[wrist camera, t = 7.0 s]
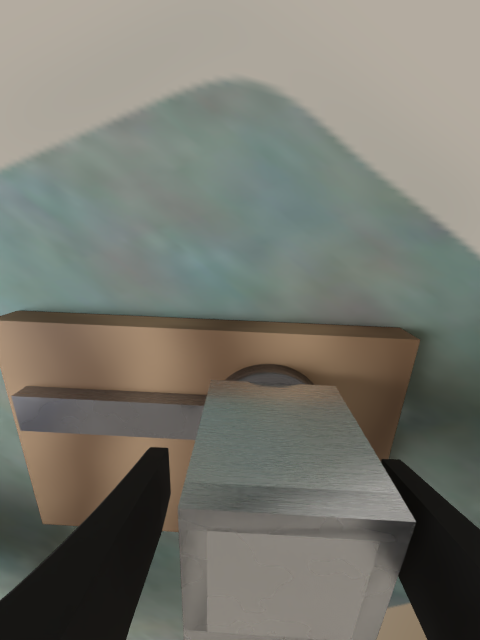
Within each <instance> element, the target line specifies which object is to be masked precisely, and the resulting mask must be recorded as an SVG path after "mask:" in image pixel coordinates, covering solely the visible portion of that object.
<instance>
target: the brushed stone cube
mask: <svg viewBox="0 0 480 640" xmlns="http://www.w3.org/2000/svg"><path fill="white" fill-rule="evenodd" d="M415 525H416V521H415V519H414V517H413V516H412V514H411V512H410V511H409V509H408V507H407V505H406V504H405V502H404V500H403V499H402V497H401V495H400V494H399V492H398V490H397V489H396V487H395V485H394V484H393V482H392V480H391V479H390V477H389V475H388V474H387V472H386V470H385V469H384V467H383V465H382V463H381V462H380V460H379V458H378V457H377V455H376V453H375V452H374V450H373V448H372V447H371V445H370V443H369V442H368V440H367V438H366V437H365V435H364V433H363V432H362V430H361V428H360V426H359V425H358V423H357V421H356V420H355V418H354V416H353V415H352V413H351V411H350V410H349V408H348V406H347V405H346V403H345V401H344V400H343V398H342V396H341V395H340V393H339V391H338V390H337V388H336V386H327V385H306V384H286V383H266V382H245V381H225V380H211V382H210V386H209V390H208V394H207V398H206V402H205V405H204V409H203V413H202V417H201V421H200V425H199V428H198V432H197V436H196V440H195V444H194V448H193V451H192V455H191V459H190V463H189V467H188V470H187V474H186V478H185V482H184V486H183V490H182V493H181V497H180V501H179V505H178V527H179V548H180V569H181V589H182V610H183V631H184V640H376V639H377V636H378V633H379V630H380V627H381V624H382V621H383V618H384V615H385V612H386V610H387V607H388V604H389V601H390V598H391V595H392V592H393V589H394V586H395V583H396V580H397V577H398V574H399V571H400V569H401V566H402V563H403V560H404V557H405V554H406V551H407V548H408V545H409V542H410V539H411V536H412V533H413V530H414V528H415Z"/></svg>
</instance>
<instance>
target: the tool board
mask: <svg viewBox="0 0 480 640" xmlns="http://www.w3.org/2000/svg"><path fill="white" fill-rule="evenodd" d="M419 343H420V339H418V338H416V337H415V336H413V335H411V334H409V333H408V332H406V331H404V330H403V329H401V328H393V327H371V326H349V325H327V324H304V323H282V322H260V321H238V320H215V319H193V318H171V317H149V316H126V315H104V314H82V313H60V312H37V311H15V312H12V313H9V314H6V315H2V316H0V368H1V372H2V375H3V379H4V383H5V386H6V390H7V394H8V397H9V401H10V405H11V409H12V412H13V416H14V420H15V423H16V427H17V431H18V434H19V438H20V442H21V446H22V449H23V453H24V457H25V460H26V464H27V468H28V471H29V475H30V479H31V482H32V486H33V490H34V494H35V497H36V501H37V505H38V508H39V512H40V516H41V519H42V523H43V524H53V525H70V526H80V525H81V524H82V522H83V521H84V520H85V519H86V518H87V517H88V516H89V515H90V514H91V513H92V512H93V511H94V510H95V509H96V508H97V507H98V506H99V505H100V504H101V502H102V501H103V500H104V499H105V498H106V497H107V496H108V495H109V494H110V493H111V491H112V490H113V489H114V488H115V487H116V486H117V485H118V484H119V483H120V481H121V480H122V479H123V478H124V477H125V476H126V475H127V473H128V472H129V471H130V470H131V469H132V468H133V466H134V465H135V464H136V463H137V462H138V460H139V459H140V458H141V457H142V456H143V454H144V453H145V452H146V451H147V450H148V449H149V448H150V447H162V448H168V449H169V467H170V484H171V495H170V500H169V504H168V508H167V513H166V517H165V521H164V525H163V529H162V531H171V532H179V527H178V505H179V501H180V497H181V493H182V490H183V486H184V482H185V478H186V474H187V470H188V467H189V463H190V459H191V455H192V451H193V448H194V444H195V440H185V439H166V438H147V437H128V436H109V435H90V434H71V433H53V432H34V431H20V427H19V423H18V420H17V416H16V412H15V408H14V405H13V401H12V397H11V396H12V395H14V394H15V393H17V392H18V391H20V390H21V389H23V388H24V387H26V386H40V387H60V388H80V389H100V390H120V391H140V392H160V393H180V394H200V395H207V394H208V390H209V386H210V382H211V380H225V379H226V378H227V377H229V376H230V375H232V374H233V373H235V372H237V371H238V370H240V369H243V368H246V367H249V366H252V365H258V364H278V365H283V366H287V367H289V368H292V369H295V370H297V371H298V372H300V373H302V374H303V375H305V376H306V377H307V378H308V379H309V380H311V381H312V383H313V384H314V385H327V386H336V388H337V390H338V391H339V393H340V395H341V396H342V398H343V400H344V401H345V403H346V405H347V406H348V408H349V410H350V411H351V413H352V415H353V416H354V418H355V420H356V421H357V423H358V425H359V426H360V428H361V430H362V432H363V433H364V435H365V437H366V438H367V440H368V442H369V443H370V445H371V447H372V448H373V450H374V452H375V453H376V455H377V457H378V458H379V460H380V462H381V459H389V455H390V451H391V447H392V444H393V440H394V436H395V432H396V429H397V425H398V421H399V417H400V414H401V410H402V406H403V403H404V399H405V395H406V391H407V388H408V384H409V380H410V376H411V373H412V369H413V365H414V361H415V358H416V354H417V350H418V347H419Z"/></svg>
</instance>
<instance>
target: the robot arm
mask: <svg viewBox="0 0 480 640" xmlns="http://www.w3.org/2000/svg"><path fill="white" fill-rule="evenodd" d="M381 463H382V465H383V467H384V469H385V470H386V472H387V474H388V475H389V477H390V479H391V480H392V482H393V484H394V485H395V487H396V489H397V490H398V492H399V494H400V495H401V497H402V499H403V500H404V502H405V504H406V505H407V507H408V509H409V511H410V512H411V514H412V516H413V517H414V519H415V521H416V525H415V528H414V530H413V533H412V536H411V539H410V542H409V545H408V548H407V551H406V554H405V557H404V560H403V563H402V566H401V569H400V571H399V574H398V576H399V579H400V581H401V583H402V585H403V587H404V590H405V592H406V594H407V596H408V598H409V600H410V603H411V605H412V607H413V609H414V611H415V614H416V616H417V618H418V620H419V622H420V624H421V626H422V629H423V631H424V633H425V635H426V638H427V640H480V529H479V528H478V527H476V526H475V525H474V524H473V523H472V522H471V521H469V520H468V519H467V518H466V517H465V516H464V515H462V514H461V513H460V512H459V511H458V510H457V509H456V508H454V507H453V506H452V505H451V504H450V503H449V502H448V501H447V500H445V499H444V498H443V497H442V496H441V495H440V494H439V493H437V492H436V491H435V490H434V489H433V488H432V487H431V486H430V485H428V484H427V483H426V482H425V481H424V480H423V479H422V478H421V477H419V476H418V475H417V474H416V473H415V472H414V471H413V470H411V469H410V468H409V467H408V466H407V465H406V464H404V463H403V462H402V461H401V460H394V459H381ZM170 495H171V484H170V467H169V449H168V448H162V447H150V448H149V449H148V450H147V451H146V452H145V453H144V454H143V456H142V457H141V458H140V459H139V460H138V462H137V463H136V464H135V465H134V466H133V468H132V469H131V470H130V471H129V472H128V473H127V475H126V476H125V477H124V478H123V479H122V480H121V481H120V483H119V484H118V485H117V486H116V487H115V488H114V489H113V490H112V491H111V493H110V494H109V495H108V496H107V497H106V498H105V499H104V500H103V501H102V502H101V504H100V505H99V506H98V507H97V508H96V509H95V510H94V511H93V512H92V513H91V514H90V515H89V516H88V517H87V518H86V519H85V520H84V521H83V522H82V524H81V525H80V526H79V527H78V528H77V529H76V530H75V531H74V532H73V533H72V534H71V535H70V536H69V537H68V538H67V539H66V540H65V541H64V542H63V543H62V544H61V545H60V546H59V547H58V548H57V549H56V550H55V551H54V552H53V553H52V554H51V555H49V556H48V557H47V558H46V559H45V560H44V561H43V562H42V563H41V564H40V565H39V566H38V567H37V568H36V569H35V570H34V571H32V572H31V573H30V574H29V575H28V576H27V577H26V578H25V579H24V580H23V581H22V582H21V583H19V584H18V585H17V586H16V587H15V588H14V589H13V590H12V591H10V592H9V593H8V594H7V595H6V596H5V597H4V598H2V599H1V600H0V640H126V638H127V634H128V631H129V628H130V625H131V622H132V619H133V616H134V613H135V610H136V607H137V604H138V601H139V598H140V595H141V592H142V589H143V586H144V583H145V580H146V577H147V574H148V571H149V568H150V565H151V562H152V559H153V556H154V553H155V550H156V547H157V544H158V541H159V538H160V535H161V532H162V529H163V525H164V521H165V517H166V513H167V508H168V504H169V500H170Z"/></svg>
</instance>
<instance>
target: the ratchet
mask: <svg viewBox="0 0 480 640" xmlns="http://www.w3.org/2000/svg"><path fill="white" fill-rule="evenodd" d="M225 381H245V382H266V383H286V384H306V385H314V384H313V383H312V381H311V380H309V379H308V378H307V377H306V376H305V375H303V374H302V373H300V372H298V371H297V370H295V369H292V368H289V367H287V366H283V365H278V364H258V365H252V366H249V367H246V368H243V369H240V370H238V371H237V372H235V373H233V374H232V375H230V376H229V377H227V378H226V379H225ZM11 397H12V401H13V405H14V408H15V412H16V416H17V420H18V423H19V427H20V431H34V432H53V433H71V434H90V435H109V436H128V437H147V438H166V439H185V440H196V436H197V432H198V428H199V425H200V421H201V417H202V413H203V409H204V405H205V402H206V398H207V395H200V394H180V393H160V392H140V391H120V390H100V389H80V388H60V387H40V386H26V387H24V388H23V389H21V390H20V391H18V392H17V393H15V394H14V395H12V396H11Z"/></svg>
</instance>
